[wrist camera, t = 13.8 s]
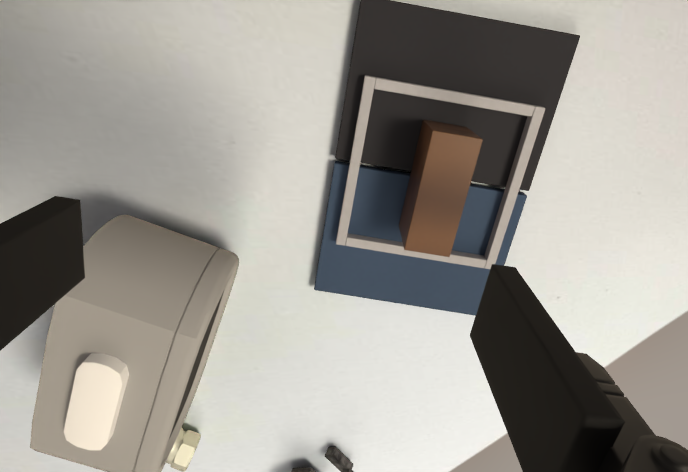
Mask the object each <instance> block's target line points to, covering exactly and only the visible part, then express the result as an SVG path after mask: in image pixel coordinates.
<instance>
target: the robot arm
mask: <svg viewBox="0 0 688 472" xmlns="http://www.w3.org/2000/svg"><path fill="white" fill-rule="evenodd" d="M84 278H85V269H84V253H83V237H82V221H81V205H80V200H77V199H70V198H64V197H57V196H55V197H53V198H51V199H49V200H47V201H45V202H43V203H41V204H39V205H37V206H35V207H33V208H31V209H29V210H27V211H25V212H23V213H21V214H19V215H17V216H15V217H13V218H11V219H9V220H7V221H5V222H3V223H1V224H0V350H1V349H3V348H4V347H5V346H6V345H7V344H8V343H10V342H11V341H12V340H13V339H14V338H15V337H17V336H18V335H19V334H20V333H21V332H22V331H24V330H25V329H26V328H27V327H28V326H29V325H31V324H32V323H33V322H34V321H35V320H36V319H38V318H39V317H40V316H41V315H42V314H43V313H45V312H46V311H47V310H48V309H49V308H50V307H52V306H53V305H54V304H55V303H56V302H57V301H59V300H60V299H61V298H62V297H63V296H64V295H66V294H67V293H68V292H69V291H70V290H71V289H73V288H74V287H75V286H76V285H77V284H78V283H80V282H81V281H82V280H83V279H84ZM470 337H471V340H472V342H473V345H474V347H475V350H476V352H477V355H478V358H479V360H480V363H481V365H482V368H483V370H484V373H485V375H486V378H487V381H488V383H489V386H490V388H491V391H492V393H493V396H494V399H495V401H496V404H497V406H498V409H499V411H500V414H501V417H502V419H503V422H504V424H505V427H506V429H507V432H508V434H509V437H510V439H511V442H512V444H513V447H514V450H515V452H516V455H517V457H518V460H519V462H520V465H521V468H522V470H523V472H688V450H687V449H685V448H683V447H682V446H681V445H679V444H677V443H675V442H673V441H670V440H668V439H666V438H663V437H659V436H656V435H655V434H654V433H653V432H652V430H651V429H650V428H649V426H648V425H647V424H646V422H645V421H644V420H643V419H642V417H641V416H640V415H639V413H638V412H637V411H636V409H635V408H634V407H633V405H632V404H631V403H630V401H629V400H628V399H627V398H626V397H624V394H623V392H622V391H621V390H620V388H619V387H618V386H617V385H615V382H614V380H613V379H612V378H611V377H610V376H609V374H608V373H607V371H606V370H605V369H604V368H603V367H602V366H601V365H600V364H598V363H597V362H596V361H595V360H593V359H592V358H591V357H590V356H588V355H587V354H584V353H577V352H575V351H574V349H573V348H572V347H571V345H570V344H569V342H568V341H567V340H566V338H565V337H564V335H563V334H562V333H561V331H560V330H559V328H558V327H557V325H556V324H555V323H554V321H553V320H552V318H551V317H550V316H549V314H548V313H547V311H546V310H545V309H544V307H543V306H542V304H541V303H540V302H539V300H538V299H537V297H536V296H535V295H534V293H533V292H532V290H531V289H530V288H529V286H528V285H527V283H526V282H525V281H524V279H523V278H522V276H521V275H520V274H519V272H518V271H517V269H516V268H515V267H509V266H502V265H496V264H492V266H491V269H490V272H489V275H488V278H487V282H486V285H485V288H484V291H483V295H482V298H481V301H480V304H479V307H478V311H477V314H476V317H475V320H474V324H473V327H472V330H471V333H470Z"/></svg>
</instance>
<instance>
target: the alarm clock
mask: <svg viewBox="0 0 688 472" xmlns="http://www.w3.org/2000/svg"><path fill="white" fill-rule="evenodd" d="M83 253H84V269H85V278H84V279H83V280H82V281H81V282H80V283H78V284H77V285H76V286H75V287H74V288H73V289H71V290H70V291H69V292H68V293H67V294H66V295H64V296H63V297H62V298H61V299H60V300H59V301H57V302H56V303H55V306H54V311H53V315H52V319H51V323H50V327H49V331H48V335H47V341H46V347H45V352H44V358H43V364H42V369H41V375H40V381H39V387H38V392H37V398H36V404H35V409H34V415H33V421H32V431H31V444H30V448H32V449H34V450H35V451H38V452H42V453H45V454H48V455H52V456H55V457H59V458H62V459H66V460H69V461H72V462H76V463H79V464H83V465H86V466H90V467H93V468H96V469H100V470H103V471H107V472H161V471H162V469H163V467H164V465H165V463H166V461H167V459H168V456H169V454H170V452H171V450H172V448H173V446H174V443H175V441H176V439H177V437H178V434H179V432H180V430H181V427H182V425H183V423H184V420H185V418H186V416H187V413H188V411H189V408H190V406H191V403H192V401H193V398H194V395H195V393H196V390H197V387H198V385H199V382H200V379H201V376H202V373H203V371H204V368H205V365H206V362H207V359H208V356H209V353H210V350H211V347H212V344H213V342H214V339H215V336H216V333H217V330H218V327H219V324H220V321H221V318H222V315H223V312H224V310H225V307H226V304H227V301H228V298H229V295H230V292H231V289H232V286H233V283H234V280H235V277H236V274H237V269H238V265H239V259H238V256H237V255H236V254H235V253H233V252H230V251H227V250H224V249H220V248H219V247H216V246H213V245H210V244H208V243H205V242H202V241H199V240H197V239H194V238H191V237H188V236H185V235H183V234H180V233H177V232H174V231H171V230H169V229H166V228H163V227H160V226H158V225H155V224H152V223H149V222H146V221H144V220H141V219H138V218H135V217H133V216H130V215H119V216H117V217H115V218H113V219H112V220H110V221H108V222H107V223H106V224H105V225H103V226H102V227H101V228H100V229H99V230H98V231H96V233H95V234H94V235H93V236H92V237H91V238H90V240H89V241H88V242H87V243H86V244H85V245H84V246H83Z"/></svg>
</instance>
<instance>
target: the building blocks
mask: <svg viewBox="0 0 688 472" xmlns="http://www.w3.org/2000/svg"><path fill="white" fill-rule="evenodd" d="M325 457H326V458H327V459H328V460H329V461H330V462H331V463H332V464H333V465H335V466H336V467H337V468H338V469H339V470H340V471H341V472H353V471H352V470H351V469H352V467H353V463H352V462H351V461H349V460H348V459H347V458H346V457H345V456H344V455H343V454H342V453H341V452H340V451H339V450H338V449H337V448H336V447H329V448H328V450H327V452H326V454H325ZM292 472H316V471H314V470H313V469H312V468H293V470H292Z"/></svg>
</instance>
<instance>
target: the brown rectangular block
mask: <svg viewBox="0 0 688 472" xmlns="http://www.w3.org/2000/svg"><path fill="white" fill-rule="evenodd" d="M482 141H483V139H482V138H481V137H479V136H478V135H477V134H475V133H474V132H473V131H471V130H470V129H469V128H467V127H464V126H458V125H452V124H447V123H441V122H435V121H430V120H423V122H422V126H421V131H420V135H419V139H418V144H417V148H416V153H415V157H414V161H413V166H412V170H411V174H410V179H409V183H408V187H407V192H406V196H405V201H404V205H403V209H402V214H401V218H400V222H399V229H400V233H401V238H402V242H403V246H404V250H408V251H414V252H420V253H426V254H432V255H438V256H444V257H450V254H451V251H452V247H453V244H454V240H455V237H456V233H457V230H458V226H459V222H460V219H461V215H462V212H463V208H464V205H465V201H466V198H467V194H468V191H469V187H470V183H471V180H472V176H473V173H474V169H475V166H476V162H477V159H478V155H479V152H480V148H481V144H482Z"/></svg>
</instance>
